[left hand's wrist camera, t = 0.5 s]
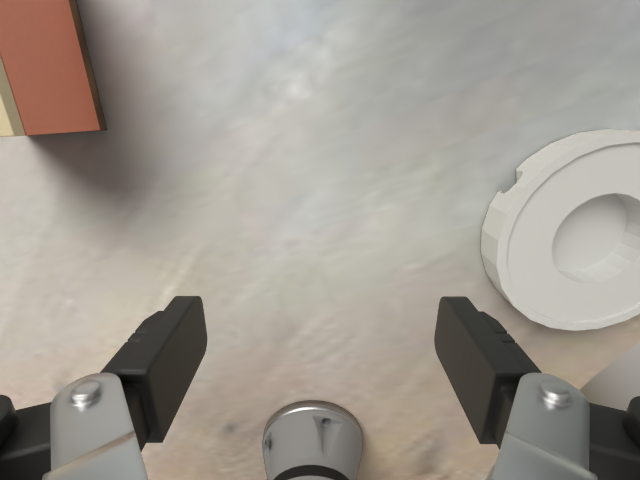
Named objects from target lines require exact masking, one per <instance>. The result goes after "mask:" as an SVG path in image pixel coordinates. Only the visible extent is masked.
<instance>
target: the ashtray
mask: <svg viewBox="0 0 640 480" xmlns="http://www.w3.org/2000/svg"><path fill="white" fill-rule="evenodd" d="M516 182H517V183H516V184H514V186H513V187H512V188H511V189H510V190H509V191H508V192H506V193H502V190H501V191H498V192H497V194H496V196H495V197H494V199H493V200H492V202H491V204H490V205H489V209H488V212H487V215H486V218H485V221H484V224H483V227H482V234H481V256H482V259H483V263H484V267H485V271H486V274H487V275H488V277H489V278H490V280H491V281H492V283H493V285H494V286H495V288H496V289H497V290H498V291H499V292H500V293H501V294H502V295H503V296H504V297H505V298H506V299H507V300H508V301H509V302H510V303H511V304H512V305H513V306H514V307H515V308H516V309H518V310H519V311H520V312H521V313H523V314H524V315H525V316H526V317H527V318H529V319H530V320H532V321H535V322H537V323H540V324H542V325H545V326H547V327H550V328H555V329H563V330H571V331H579V330H589V329H599V328H603V327H606V326H610V325H613V324H616V323H620V322H623V321H626V320H628V319H630V318H632V317H634V316H636V315H638V314H640V131H635V130H616V129H603V130H595V131H587V132H579V133H576V134H574V135H571V136H568V137H566V138H563V139H560V140H558V141H555V142H553V143H550V144H549V145H547V146H546V147H544V148H543V149H541V150H540V151H538V152H537V153H535V154H533V155H532V156H530V157H529V158H527V159H526V160H525V161H524V162H523V163H522V164H521V165H520V166H519V167H518V168H517V169H516Z"/></svg>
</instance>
